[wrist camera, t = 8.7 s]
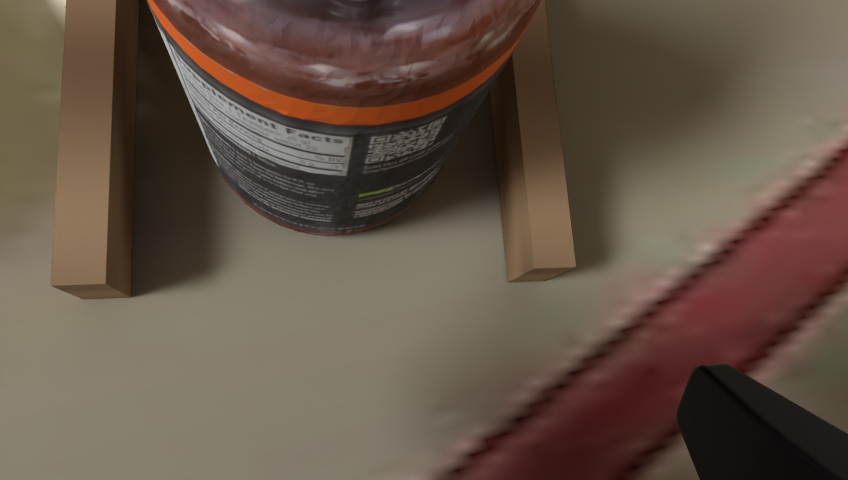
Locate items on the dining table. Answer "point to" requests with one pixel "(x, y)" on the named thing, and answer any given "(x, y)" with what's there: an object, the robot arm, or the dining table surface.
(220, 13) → the supplement bottle
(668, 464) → the dining table surface
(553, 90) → the bay
